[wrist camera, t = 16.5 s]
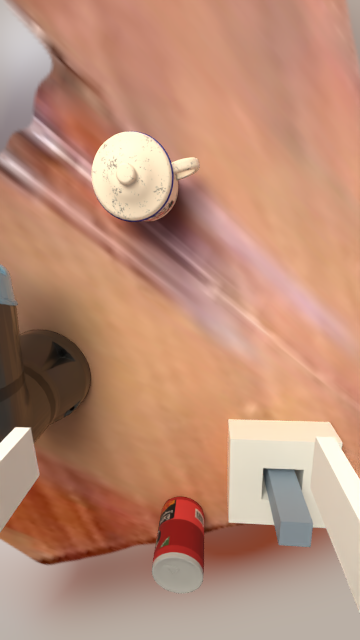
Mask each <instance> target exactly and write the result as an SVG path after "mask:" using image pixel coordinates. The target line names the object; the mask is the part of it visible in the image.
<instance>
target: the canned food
mask: <svg viewBox="0 0 360 640" xmlns="http://www.w3.org/2000/svg"><path fill="white" fill-rule="evenodd" d="M203 572H204V514H203V511H202V508H201V507H200V505H199V504H198V503H197V502H195V501H194V500H192V499H190V498H186V497H174V498H172V499H170V500H168V501H167V502H166V503H165V505H164V507H163V508H162V512H161V517H160V523H159V529H158V535H157V540H156V547H155V552H154V558H153V566H152V575H153V578H154V580H155V581H156V582H157V584H159V585H160V586H161V587H162V588H164V589H166V590H168V591H171V592H174V593H189V592H192V591H194V590H196V589H198V588H199V587H200V586H201V584H202V582H203Z"/></svg>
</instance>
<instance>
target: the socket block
mask: <svg viewBox="0 0 360 640" xmlns="http://www.w3.org/2000/svg"><path fill="white" fill-rule="evenodd" d="M316 437H334V438H335V440H336V441H337V443H338V445H339V446H340V448H341V450H342V443H343V442H342V441H341V439H340V438H339V436H338V435H337V433H336V431H335V430H334V428H333V427H332V425H331V423H330V422H313V421H276V420H238V419H228V467H227V504H228V519H229V522H230V523H247V524H265V525H274V521H273V516H272V512H271V507H270V503H269V498H268V494H267V490H266V485H265V481H264V476H263V468H272V469H294V471H295V474H296V476H297V479H298V482H299V485H300V488H301V490H302V493H303V496H304V499H305V502H306V504H307V507H308V510H309V513H310V516H311V518H312V521H313V527H317V528H318V527H319V528H326V526H325V524H324V521H323V519H322V516H321V514H320V511H319V509H318V506H317V504H316V501H315V499H314V496H313V493H312V491H311V488H310V484H311V475H312V466H313V457H314V448H315V438H316Z"/></svg>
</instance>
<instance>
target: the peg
mask: <svg viewBox="0 0 360 640" xmlns="http://www.w3.org/2000/svg"><path fill="white" fill-rule="evenodd" d="M263 476H264V481H265V485H266V490H267V494H268V498H269V503H270V507H271V512H272V516H273V521H274V525H275V529H276V534H277V539H278V543H279V545H286V546H302V547H310V546H311V538H312V529H313V521H312V518H311V516H310V513H309V510H308V507H307V504H306V502H305V499H304V496H303V493H302V490H301V488H300V485H299V482H298V479H297V476H296V474H295V471H294V469H272V468H263Z"/></svg>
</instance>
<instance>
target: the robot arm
mask: <svg viewBox="0 0 360 640" xmlns="http://www.w3.org/2000/svg"><path fill="white" fill-rule="evenodd" d="M17 305H18V303H17V301H16V300H15V298H14V293H13V287H12V282H11V277H10V274H9V272H8V270H7V269H6V268H5V267H4V266H3V265H1V264H0V532H1V530H2V529H3V528H4V526H5V525H6V523H7V522H8V520H9V519H10V517H11V516H12V514H13V513H14V512H15V510H16V509H17V507H18V506H19V504H20V503H21V501H22V500H23V499H24V497H25V496H26V494H27V493H28V491H29V490H30V488H31V487H32V485H33V484H34V483H35V481H36V480H37V478H38V477H39V475H40V474H39V469H38V464H37V458H36V453H35V448H34V443H35V442H36V441H37V439H38V438H39V437H40V436H41V434H42V433H43V432H44V431H45V429H46V428H47V427H48V426H49V425H50V424H52V423H54V422H56V421H58V420H60V419H61V418H63V417H65V416H67V415H69V414H70V413H72V412H73V411H74V410H75V409H76V408H77V407H78V406H79V405H80V404H81V402H82V401H83V400H84V398H85V397H86V395H87V393H88V390H89V387H90V380H91V377H90V369H89V366H88V363H87V361H86V359H85V357H84V355H83V354H82V352H81V351H80V350H79V348H78V347H77V346H76V345H75V344H74V343H73V342H71V341H70V340H69V339H67V338H66V337H64V336H62V335H60V334H58V333H55V332H52V331H47V330H31V331H27V332H24V333H22V334H19V326H18V317H17V308H16V306H17ZM310 488H311V491H312V493H313V496H314V499H315V501H316V504H317V506H318V509H319V511H320V514H321V516H322V519H323V521H324V524H325V526H326V529H327V532H328V534H329V537H330V539H331V541H332V544H333V547H334V549H335V552H336V554H337V557H338V559H339V562H340V565H341V567H342V569H343V572H344V575H345V577H346V580H347V582H348V585H349V587H350V590H351V592H352V595H353V597H354V600H355V602H356V605H357V608H358V610H359V613H360V479H359V478H358V476H357V474H356V473H355V471H354V469H353V468H352V466H351V464H350V463H349V461H348V459H347V458H346V456H345V455H344V453H343V451H342V450H341V448H340V446H339V445H338V443H337V441H336V440H335V438H334V437H316V438H315V448H314V457H313V466H312V475H311V484H310Z"/></svg>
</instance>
